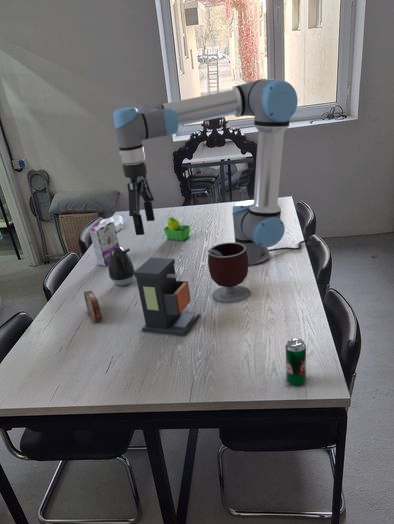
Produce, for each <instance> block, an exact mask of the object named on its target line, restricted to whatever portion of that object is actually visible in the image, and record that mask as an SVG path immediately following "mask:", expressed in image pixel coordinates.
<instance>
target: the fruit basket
mask: <svg viewBox="0 0 394 524" xmlns="http://www.w3.org/2000/svg"><path fill="white" fill-rule="evenodd" d="M190 229H191V225H185V224H180V221H179V220H178V219H177V218H175V217H174V216H170V217H168V219H167V226H165V227H164V228H162V230H163V232H164V233H165V236H166V238H167V239H168V240H174V241H181V242H183V241H184V240H186V239H187V238H189V236H190Z"/></svg>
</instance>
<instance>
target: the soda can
mask: <svg viewBox="0 0 394 524" xmlns="http://www.w3.org/2000/svg"><path fill="white" fill-rule="evenodd" d="M285 379H286V382H287V383H288V384H289V385H291V386H294V387H299V386H303V385H304V384H305V383H306V381H307V345H306V342H305V341H304V340H303V339H302V338H295V337H294V338H291V339H289V340H288V341H287V342H286V345H285Z"/></svg>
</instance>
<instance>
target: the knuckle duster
mask: <svg viewBox="0 0 394 524" xmlns="http://www.w3.org/2000/svg"><path fill="white" fill-rule="evenodd" d="M105 221H113V222H114V226H115V230H116V233H118V232H119V231H120V230H122V229H123V228H124V226H125V223H126V222H127V220H126V219H125V220H124V218H123V217H122V215H113V216H110V217H108V218H103V219H101V220H100V221H99V222H98V224H97V225H99V224H101V223H103V222H105Z"/></svg>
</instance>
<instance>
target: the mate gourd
mask: <svg viewBox="0 0 394 524" xmlns="http://www.w3.org/2000/svg"><path fill="white" fill-rule="evenodd" d="M207 252H208V253H207V254H208V255H207V267H208V270H209V274H210V277H211V280H212V281H213V282H214V283H215V284H216V285H218V286H219V288H217V289H216V290H215V291H214V293H213V297H214V299H215V300H216V301H218V302H220V303H227V304H228V303H236V302H240V301H242V300H243V301H244V299H246V298H248V295H249V290H248V288H246V287H245V286H242V285H241V284H243V282H244V281H245V279H246V278H247V277H248V273H249V265H248V255H247V251H246V247H245V246H244V245H243V244H240V243H235V242H222V243H219V244H215V245H213V246H211V247H210V248H209V249H208V250H207Z"/></svg>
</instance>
